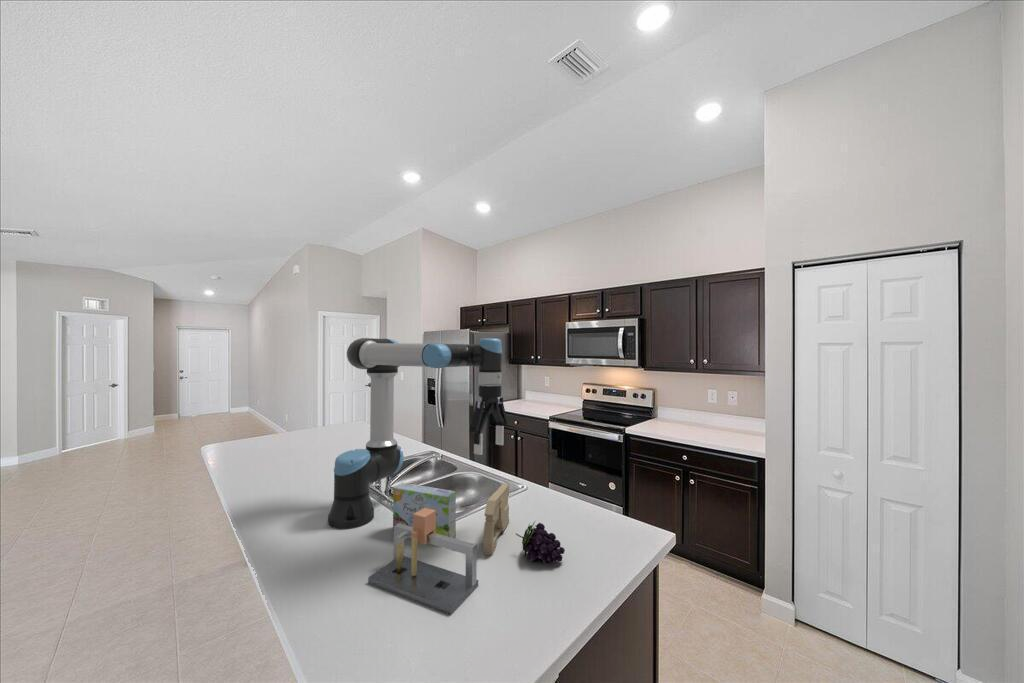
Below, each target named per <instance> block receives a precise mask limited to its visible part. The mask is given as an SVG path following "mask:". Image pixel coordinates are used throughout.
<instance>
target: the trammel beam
mask: <svg viewBox="0 0 1024 683" xmlns="http://www.w3.org/2000/svg"><path fill="white" fill-rule="evenodd" d="M411 532H413V527H411V526H408V525H404V524H400V523H398V524H397V525H395V526H394V532H393V556H392V557H393V560H394V561H397V574H398V575H400V574H402V559H404V556H405V540H407V539H408V538H409V539H412V537H411ZM427 544H428V545H434V546H436V547H440V548H443V549H445V550H450V551H454V552H457V553H461V554H464V555H465V576H466V579H465V584H466V585H469V586H473V585H474V584H475V583H476V579H477V569H478V568H477V566H478V565H477V562H478V560H477V558H478V556H477V554H478V552H477V551H478V550H477V549H478V548H477V546H478V545H477V544H476V543H473V542H468V541H465V540H461V539H458V538H456V537H454V538H451V537H448V536H444V535H440V534H437V533H433V532H430V533H429V534H427ZM393 560H392V561H393Z"/></svg>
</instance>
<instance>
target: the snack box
mask: <svg viewBox="0 0 1024 683" xmlns="http://www.w3.org/2000/svg"><path fill="white" fill-rule="evenodd" d="M392 490H393V491H392V494H393V495H392V507H393V508H392V532H393V533H394V526H395V525H397V524H398V523H400V524H404V525H408V526H411V527H413V514H414V513H416V512H418V511H420V510H421V509H423V508H428V509H433V510H436V529H435V533H437V534H440V535H444V536H448V537H451V538H456V535H457V534H456V531H457V530H456V527H457V526H456V523H457V521H456V520H457V516H456V514H457V513H456V512H457V511H456V510H457V509H456V508H457V507H456V506H457V503H456V502H457V493H456V492H457V491H455V490H449V489H443V488H439V487H438V488H436V487H431V486H425V485H419V484H412V483H407V482H401V483H399V484H397V485H395V486H393V488H392Z"/></svg>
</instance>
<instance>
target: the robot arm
mask: <svg viewBox="0 0 1024 683" xmlns="http://www.w3.org/2000/svg"><path fill="white" fill-rule="evenodd" d="M502 345H503V344H502V340H501V339H500V338H493V337H492V338H489V337H488V338H487V337H486V338H480V339H479V341H478V343H477V344H471V343H470V344H469V343H468V344H464V343H439V342H436V343H435V342H434V343H399V342H398V341H397V340H395V339H389V338H369V337H366V338H365V337H363V338H362V337H361V338H358V339H355V340H353V341H352V342H351V343H350V344H349V346H348V347H347V351H346V358H347V361H348V362H349V364H350V365H351V366H352V367H354V368H356V369H358V370H366V375H368V376H369V378H370V401H369V402H370V410H369V411H370V415H369V418H370V421H369V422H370V423H369V425H370V427H369V428H370V430H369V440H368V441H367V442H366V443H365V448H356V449H351V450H348V451H345V452H343V453H340V454H339V455H337V457H336V458H335V460H334V467H333V476H334V477H333V487H334V488H333V501H332V505H331V509H330V512H329V513H328V516H327V525H328V526H329V527H330V528H334V529H338V530H339V529H340V530H347V529H355V528H358V527H361V526H364V525H366V524H368V523H370V522H372V520H373V519H374V518H375V508H374V506H373V503H372V499H371V497H370V485H371V484H373V483H375V482H378V481H381V480H384V479H386V478H390V477H391V476H393V475H395V474H398V472H399V471H400V470H401V468H402V467H403V464H404V453H403V452H404V451H402V448H401V446H400V445H398V441H397V440H396V439H395V438H394V411H395V410H394V407H395V406H394V405H395V404H394V403H395V402H394V401H395V400H394V398H395V396H394V394H395V393H394V391H395V390H394V389H395V384H394V382H395V380H394V379H395V376H396V375H397V374H398V373H399V369H398V368H399V367H420V368H421V367H425V368H431V369H443V368H456V367H459V368H461V367H477V368H478V384H479V386H478V397H480V398H481V401H477V400H476V401H475V408H474V412H473V416H472V418H471V423H470V425H469V426H470V427H469V433H471V434H473V454H474V455H479V456H482V455H483V444H484V443H483V442H484V440H483V437H484V436H483V435H484V434H483V433H482V431H483V428H484V426H485V424H486V421H487V419H488V417H489V416H490V415H491V414H492V416H493V419H494V420H495V422H496V425H495V445H498V446H504V439H505V438H504V436H505V435H504V434H505V432H504V430H505V429H504V428H505V427H507V426H508V424H507V423H508V418H507V414H506V409H505V405H504V398H503V397H502V385H501V384H502V378H503V376H502V362H503V361H502V356H503V348H502Z"/></svg>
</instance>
